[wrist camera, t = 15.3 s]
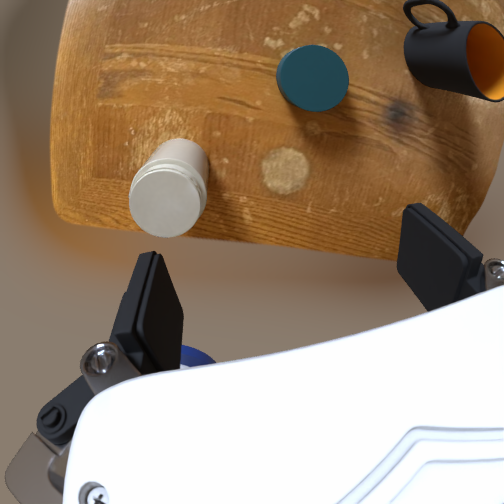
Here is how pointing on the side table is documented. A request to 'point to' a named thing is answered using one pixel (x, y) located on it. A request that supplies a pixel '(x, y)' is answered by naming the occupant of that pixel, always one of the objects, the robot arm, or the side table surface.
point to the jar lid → (312, 78)
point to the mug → (456, 54)
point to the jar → (170, 189)
